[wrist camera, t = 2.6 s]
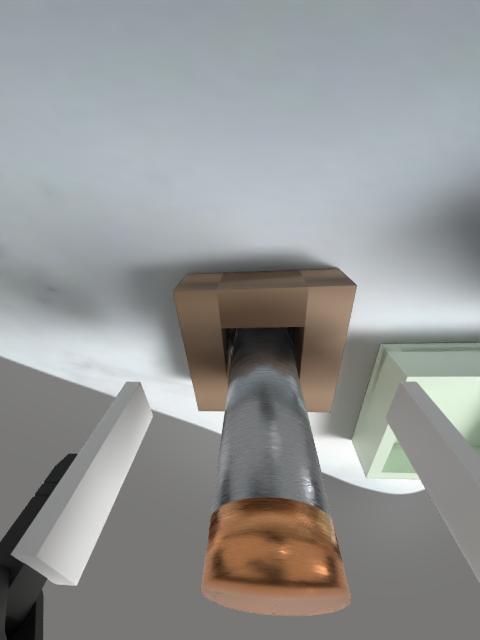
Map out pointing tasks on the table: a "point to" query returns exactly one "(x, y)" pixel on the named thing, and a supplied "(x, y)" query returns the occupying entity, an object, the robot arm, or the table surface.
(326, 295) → the socket
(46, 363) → the table surface
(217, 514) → the pin
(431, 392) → the tray
